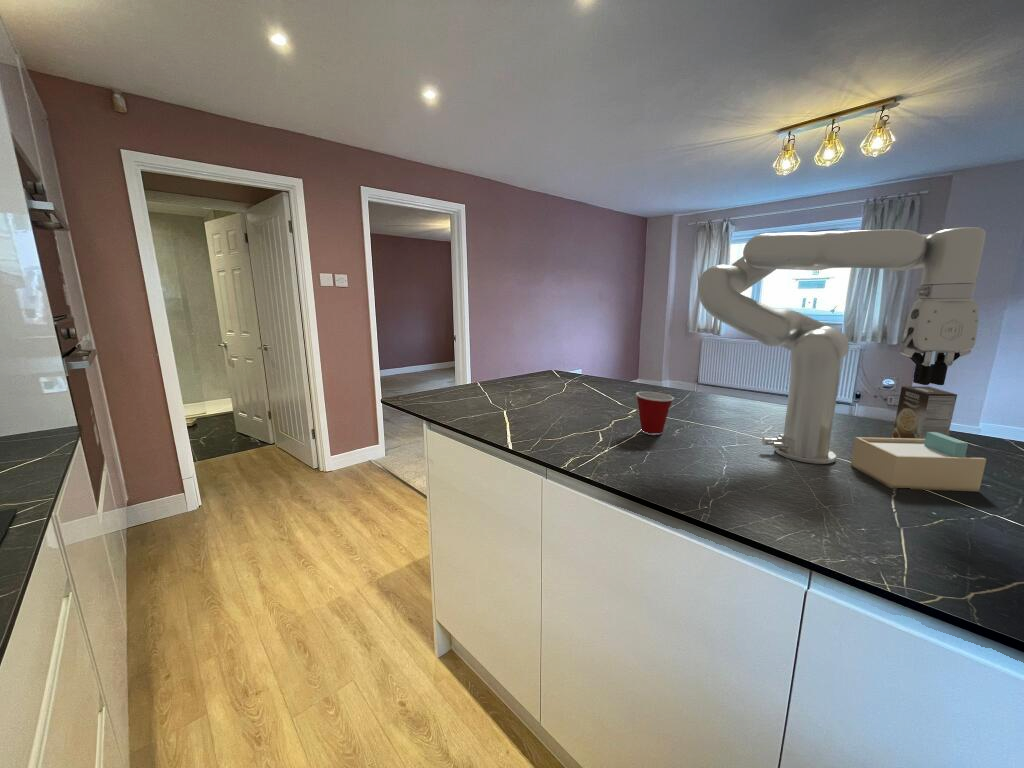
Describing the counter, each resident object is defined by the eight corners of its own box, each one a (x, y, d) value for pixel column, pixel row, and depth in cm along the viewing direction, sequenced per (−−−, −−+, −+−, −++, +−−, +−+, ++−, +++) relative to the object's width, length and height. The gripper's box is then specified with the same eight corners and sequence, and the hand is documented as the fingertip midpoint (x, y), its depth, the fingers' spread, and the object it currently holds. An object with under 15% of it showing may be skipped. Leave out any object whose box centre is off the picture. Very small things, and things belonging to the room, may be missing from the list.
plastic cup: (677, 438, 115) (680, 398, 112) (640, 439, 115) (642, 398, 113) (664, 427, 125) (666, 390, 123) (629, 427, 126) (631, 390, 123)
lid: (897, 461, 83) (900, 443, 82) (862, 444, 92) (864, 428, 91) (974, 463, 81) (978, 445, 80) (930, 446, 90) (933, 430, 90)
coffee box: (889, 443, 108) (899, 385, 105) (917, 444, 107) (928, 386, 104) (915, 455, 99) (927, 393, 96) (945, 457, 98) (959, 393, 95)
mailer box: (890, 488, 83) (896, 456, 81) (850, 465, 94) (855, 437, 93) (978, 491, 81) (986, 459, 79) (926, 467, 92) (932, 438, 91)
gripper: (916, 294, 77) (900, 387, 81) (1011, 292, 75) (990, 388, 79) (886, 295, 84) (872, 380, 88) (972, 293, 82) (953, 380, 86)
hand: (928, 383), depth 83 cm, fingers closed
